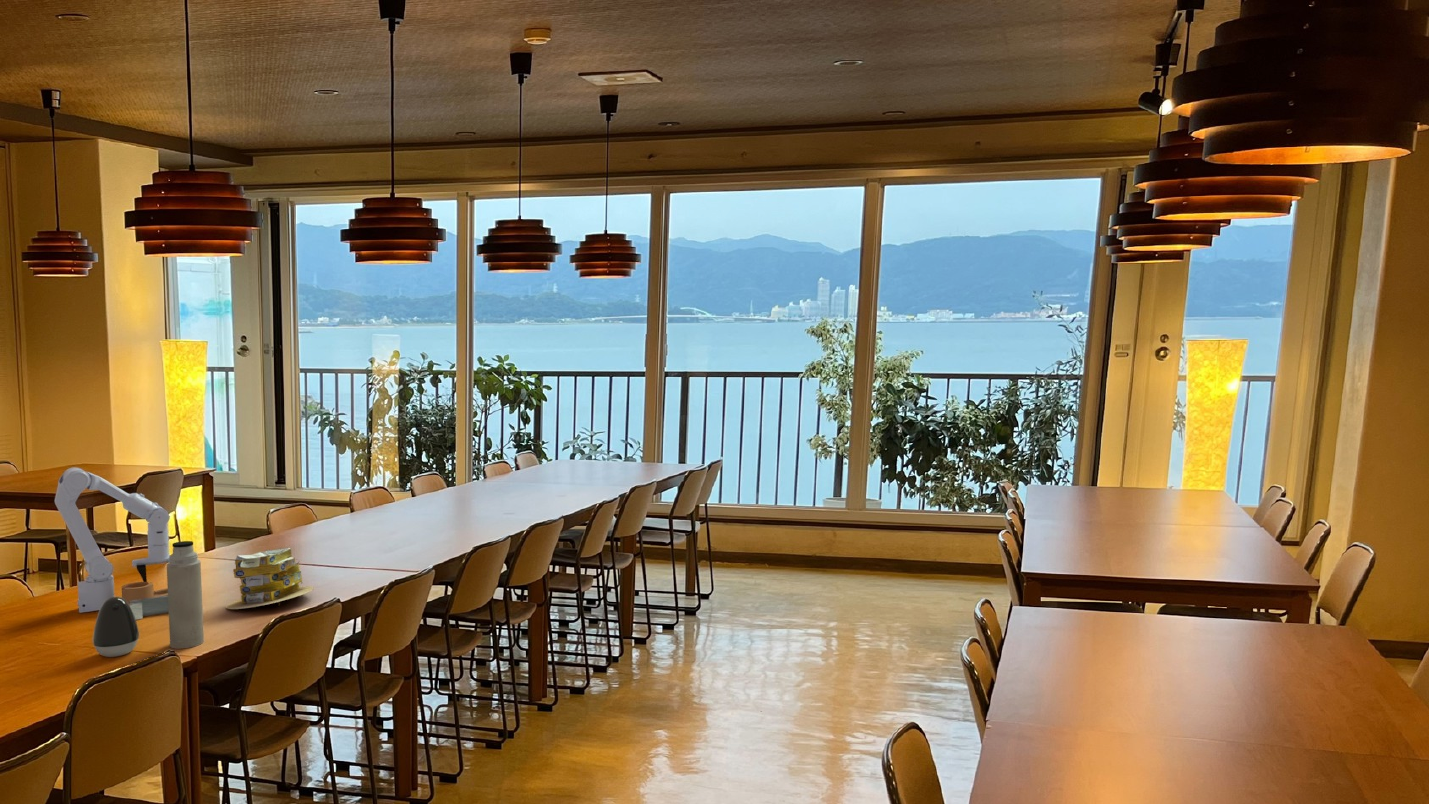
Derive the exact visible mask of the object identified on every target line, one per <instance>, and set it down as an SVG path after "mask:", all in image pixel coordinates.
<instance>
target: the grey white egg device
mask: <svg viewBox="0 0 1429 804" xmlns="http://www.w3.org/2000/svg"><path fill="white" fill-rule="evenodd" d="M95 620H96V621H95V624H94V629H93V635H92V644H93V646H94V648H95V650H96V652H97V653H98V654H99V655H101V656H102V657H107V658H114V657H115V658H116V657H121V656H125V655H127V654H129V653H130V652H132V651H133V650H134V649H135V647H136V646H137V644H138V640H139V638H140V631H139V627H138V623H137V620H136V619H135V616H134V614H133V611H132V609H131V607H130V606H129V604H128V603H127V601H126V600H125V599H123V598H122V596H114V597H112V598H109V599H108V600H106V601H105V602H104V603H103V605H102V607H101V609H100V610H98V613H97V616H96V619H95Z"/></svg>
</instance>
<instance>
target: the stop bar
mask: <svg viewBox="0 0 1429 804" xmlns="http://www.w3.org/2000/svg"><path fill="white" fill-rule="evenodd" d="M130 607H131V609H132V611H133V614H134V616H135V619H136V621H137V620H143V617H148V616H154V615H155V616H156V615H161V614H163V615H164V614H169V608H168V596H161V597H153V598H146V599H138V600H130Z"/></svg>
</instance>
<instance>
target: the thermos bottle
mask: <svg viewBox="0 0 1429 804" xmlns="http://www.w3.org/2000/svg"><path fill="white" fill-rule="evenodd" d="M193 545H194V541H193V540H192V541H191V540H183V541H176V542H173V543H172V554H169V555H170V556H169V561H170V563H166V578H167V579H166V581H167V583H166V584H167V588H168V608H169V613H168V626H169V627H168V628H169V629H168V630H169V631H168V632H169V646H170V648H172V649H181V650H182V649H189V648H193V647H197V646H200V645H202V644H204V642H205V640H204V639H205V637H204V635H205V634H204V633H205V631H204V614H203V612H204V610H203V593H202V591H203V590H202V588H203V587H202V567H201V560H199V559H198V557H199V555H198V552H196V551H194V546H193Z"/></svg>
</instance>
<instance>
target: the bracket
mask: <svg viewBox="0 0 1429 804" xmlns="http://www.w3.org/2000/svg"><path fill="white" fill-rule="evenodd" d="M161 596H168V587H167V588H162V589H157V590H154V583H153V581H152V582H149V581H147V582H143V581H137V582H131V583H127V584H124V585H122V586H121V598H123V599H125V600H126V601H127V603H128V604H129V606H130V600H138V599H146V598H153V597H161Z"/></svg>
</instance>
